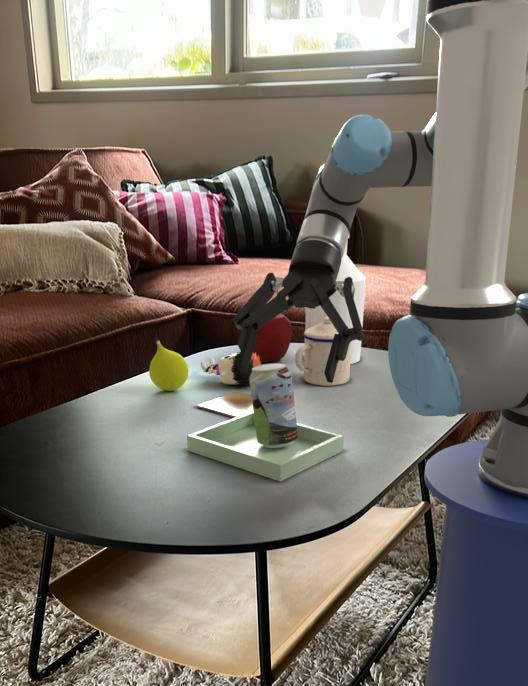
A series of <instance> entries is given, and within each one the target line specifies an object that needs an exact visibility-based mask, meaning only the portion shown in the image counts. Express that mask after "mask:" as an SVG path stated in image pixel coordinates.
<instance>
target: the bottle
mask: <svg viewBox="0 0 528 686" xmlns="http://www.w3.org/2000/svg"><path fill="white" fill-rule="evenodd" d="M348 239H350V235H349V236H348ZM347 253H348V240H347V243H346V247H345V250H344V254H343V257H342V259H341V265H340V269H339V272H338V276H337V279H336V281H344V280H345V278H347V277H351V278H352V280H353V284H354V288H355V292H354V302H355V305H356V308H357V312H358V315H359V319H360V322H361V325H362V327H363V325H364V312H365V298H366V285H367V284H366V283H367V278H366V276H365V275H364V274H363V273H362V272H361V270H360V269H358V267H357V266H356V265H355V264H354V262H353V261H352V260H351V258H350V257H349V256H348V254H347ZM329 299H330V301H331V302H332V304H333V306H334V307H335V309H336V310H337V312H338V313H339V315H340V317H341V318H342V320H343V321H344V323H345V324H346V326H348V329H349V328H353V325H352V322H351V318H350V315H349V311H348V308H347V304H346V301H345V297H343V296H341V295H340V292H339V291H337V290H336V292H335V293H334V294H333V295H332V296H330V297H329ZM325 317H328V316H327V315H326V313H325V312H324V311H323V309H322V308H321V306H318V307H315V309H310V308H307V307H305V331H306V330H307V329H308V328H311V327H315V326H316V325H317V324H319V323H323V319H324V318H325ZM361 351H362V340H361V341H358V340H353V341H351V360H350V365H352V364H356V363H358V362H359V361H360V360H361V354H362V353H361Z"/></svg>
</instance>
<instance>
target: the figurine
mask: <svg viewBox="0 0 528 686" xmlns="http://www.w3.org/2000/svg"><path fill="white" fill-rule="evenodd" d="M240 352H241V351H238V352H236V353H229V355H225V356H223V357H220V358H219V360H218V363H216V362H215V359H214V357H211V358H209V361H208V364H207V363H206V362H205V361H204V360H202V361H201V362H200V368H201V370H202V371H203V373H208V375H211V374H215V376H219V378H220V381H221V383H222V384H224V385H237V386H239V387H241V386H250V381H249V378H250V375H251V373H252V368H254V367H256V366H259V365H262V362H260V357H259V355H258V356H257V355H256V353H255V354H252V357H251V360H250V363H249V367H248V370H247V373H246V374H245V373H242V372H241V371H240V369H239V367H238V365H237V361H238V358H239V355H240Z"/></svg>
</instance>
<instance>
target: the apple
mask: <svg viewBox="0 0 528 686" xmlns="http://www.w3.org/2000/svg"><path fill="white" fill-rule="evenodd" d="M256 334H257V340H256V344H255V347H254V350H253V354H255V353H256V355H257V356H258V355H259V357H260V362H261V363H276V362H279V361H281V360H282V359H283V358H284V357H285V356H286V354H287V353H288V350H289V348H290V345H291V341H292V335H293V327H292V323H291V321H290V319H289V318H288V317H287V316H286V315H285V314H283V313H280V314H279V315H277V316H276V317H275V318H273V319H272V320H271V321H269V322H268V323H267V324H265V325H264V326H263V327H262V328H260V329H259V330H258V331H256Z"/></svg>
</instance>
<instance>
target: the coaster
mask: <svg viewBox="0 0 528 686" xmlns="http://www.w3.org/2000/svg"><path fill="white" fill-rule="evenodd" d="M196 408H199V409H202V410H206V411H209V412H214V413H215V414H220V415H223V416H227V417H231V418H235V417H238V416H240V415H243V414H246V413H248V412H251V411H253V404H252V396H251V394H246V393H243V392H238V391H234V392H232V393H229V394H225V395H223V396H220V397H216V398H214V399H211V400H208V401H205V402H202V403H199V404H197V405H196Z"/></svg>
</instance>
